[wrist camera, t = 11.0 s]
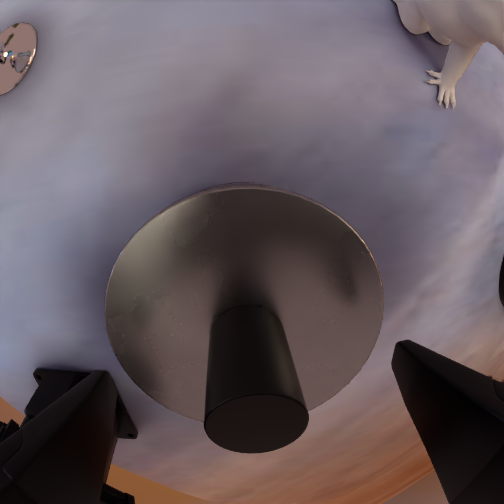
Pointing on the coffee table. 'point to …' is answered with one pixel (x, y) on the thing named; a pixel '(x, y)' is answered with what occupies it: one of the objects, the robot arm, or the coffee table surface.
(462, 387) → the robot arm
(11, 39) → the wineglass
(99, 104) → the coffee table surface
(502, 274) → the pan
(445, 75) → the rabbit figurine
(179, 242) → the lid
